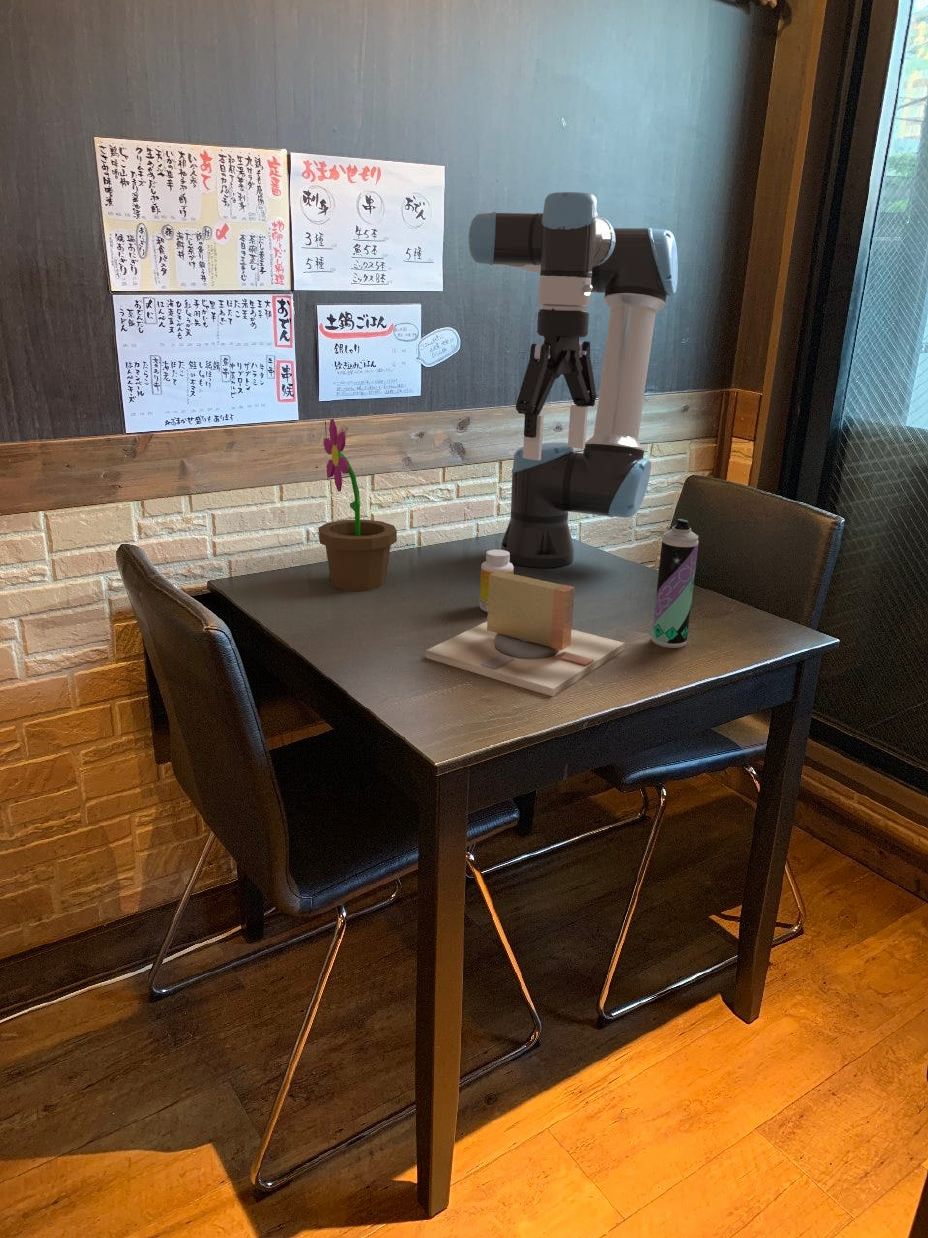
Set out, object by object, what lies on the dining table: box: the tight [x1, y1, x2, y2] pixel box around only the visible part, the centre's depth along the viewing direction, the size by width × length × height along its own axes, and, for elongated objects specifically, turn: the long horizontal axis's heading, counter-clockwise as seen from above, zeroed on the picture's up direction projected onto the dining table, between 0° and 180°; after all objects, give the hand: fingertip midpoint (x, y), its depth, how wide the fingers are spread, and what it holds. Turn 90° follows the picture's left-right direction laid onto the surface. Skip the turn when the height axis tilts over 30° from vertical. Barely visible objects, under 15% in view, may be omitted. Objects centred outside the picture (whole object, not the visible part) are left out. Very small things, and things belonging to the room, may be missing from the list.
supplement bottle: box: [479, 549, 515, 613], centre depth 159 cm, size 6×6×10 cm
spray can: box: [651, 518, 699, 649], centre depth 145 cm, size 6×6×20 cm
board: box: [425, 620, 626, 698], centre depth 142 cm, size 22×22×2 cm
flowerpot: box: [318, 418, 398, 592], centre depth 168 cm, size 14×14×30 cm
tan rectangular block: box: [486, 571, 575, 650], centre depth 140 cm, size 13×3×9 cm, turn 56°
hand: (554, 453), depth 144 cm, fingers open, 13 cm apart
